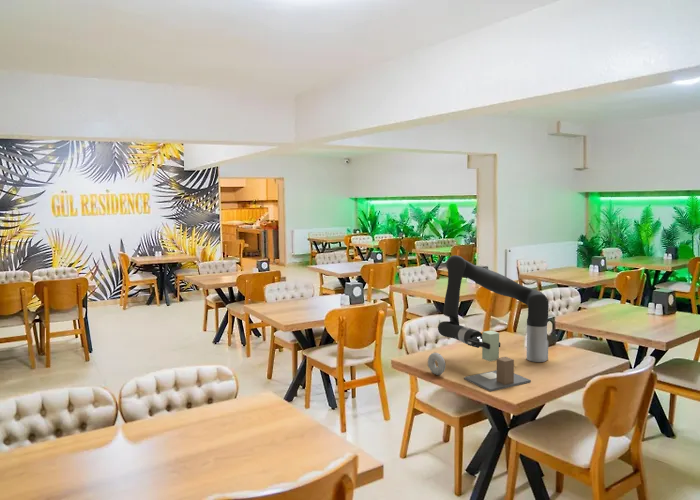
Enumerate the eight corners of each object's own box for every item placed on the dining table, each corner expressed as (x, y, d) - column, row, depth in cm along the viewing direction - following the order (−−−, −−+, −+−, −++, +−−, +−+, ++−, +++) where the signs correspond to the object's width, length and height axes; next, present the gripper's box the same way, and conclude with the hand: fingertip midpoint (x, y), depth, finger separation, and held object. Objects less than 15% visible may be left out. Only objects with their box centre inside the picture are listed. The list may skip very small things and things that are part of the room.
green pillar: (491, 356, 238) (491, 330, 236) (498, 359, 233) (499, 333, 232) (482, 358, 235) (482, 331, 234) (489, 361, 231) (490, 334, 230)
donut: (447, 376, 238) (447, 354, 237) (441, 378, 236) (441, 356, 235) (431, 370, 246) (431, 349, 245) (426, 372, 244) (426, 351, 243)
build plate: (503, 370, 244) (503, 347, 243) (530, 382, 228) (531, 357, 227) (464, 379, 234) (464, 354, 233) (490, 391, 219) (490, 365, 218)
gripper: (457, 330, 243) (481, 339, 228) (482, 326, 249) (507, 335, 234) (457, 346, 244) (481, 356, 228) (482, 342, 250) (507, 352, 235)
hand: (494, 345), depth 231 cm, fingers closed on green pillar, 5 cm apart
